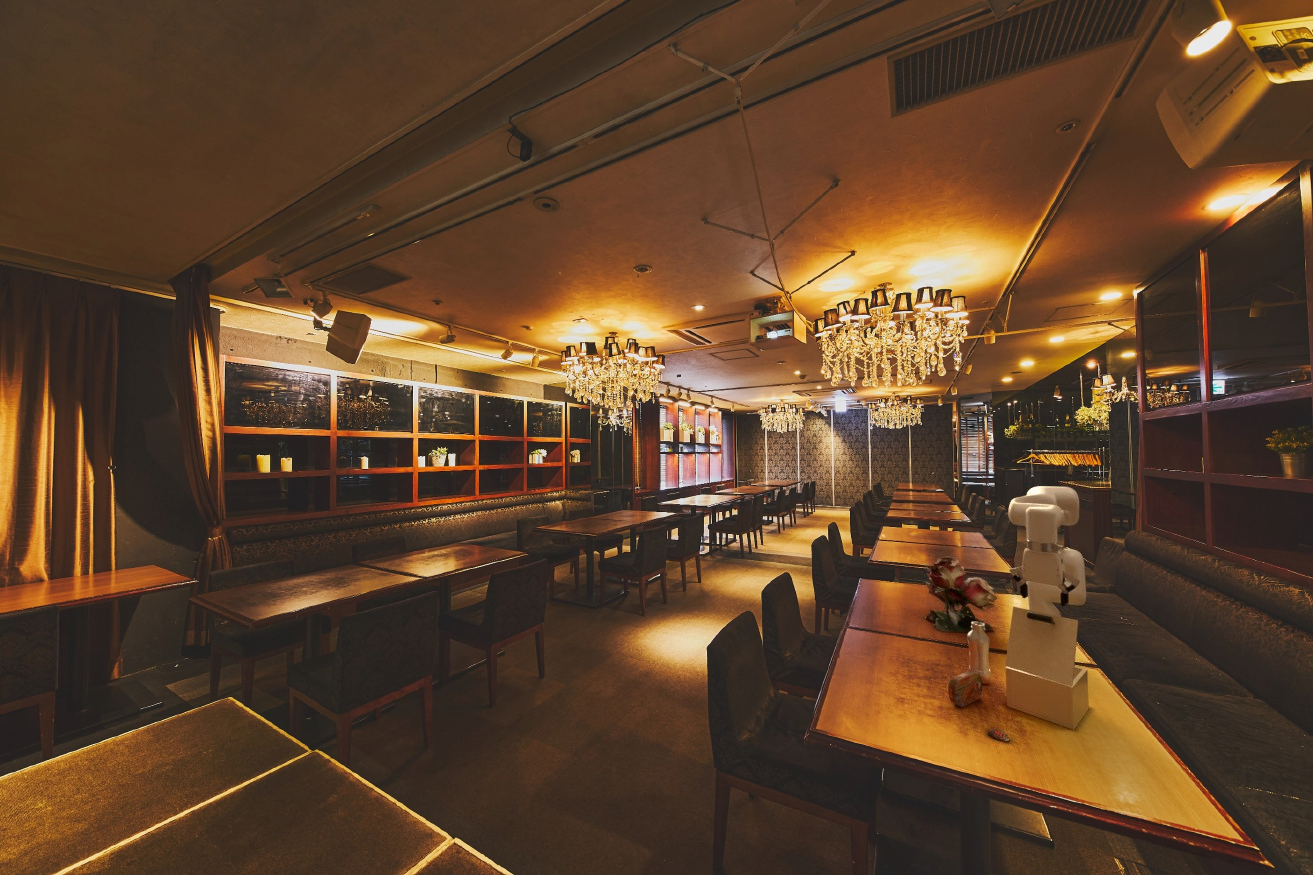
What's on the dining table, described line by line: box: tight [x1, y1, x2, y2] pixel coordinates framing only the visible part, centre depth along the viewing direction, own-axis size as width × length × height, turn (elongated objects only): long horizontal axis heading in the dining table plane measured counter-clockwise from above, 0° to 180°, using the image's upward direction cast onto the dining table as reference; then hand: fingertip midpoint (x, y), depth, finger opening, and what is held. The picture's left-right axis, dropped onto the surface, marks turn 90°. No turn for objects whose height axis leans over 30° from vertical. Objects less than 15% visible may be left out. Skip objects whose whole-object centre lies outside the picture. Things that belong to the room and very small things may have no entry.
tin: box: [947, 670, 984, 708], centre depth 150 cm, size 15×3×8 cm, turn 117°
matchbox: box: [987, 727, 1010, 742], centre depth 132 cm, size 5×5×1 cm
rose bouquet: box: [923, 555, 998, 633], centre depth 218 cm, size 26×29×30 cm
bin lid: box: [1005, 606, 1079, 686], centre depth 142 cm, size 19×16×5 cm
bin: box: [1005, 665, 1090, 731], centre depth 146 cm, size 18×16×12 cm
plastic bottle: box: [966, 622, 992, 685], centre depth 162 cm, size 6×7×20 cm
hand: (1043, 601), depth 147 cm, fingers open, 9 cm apart
